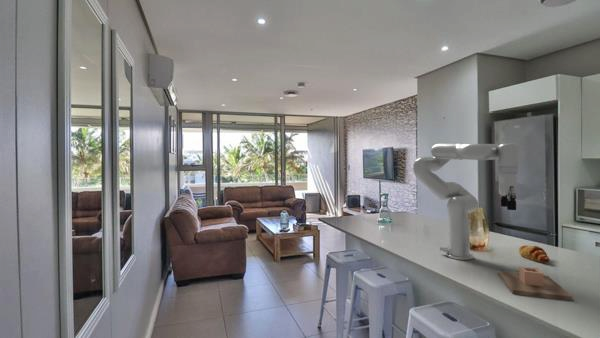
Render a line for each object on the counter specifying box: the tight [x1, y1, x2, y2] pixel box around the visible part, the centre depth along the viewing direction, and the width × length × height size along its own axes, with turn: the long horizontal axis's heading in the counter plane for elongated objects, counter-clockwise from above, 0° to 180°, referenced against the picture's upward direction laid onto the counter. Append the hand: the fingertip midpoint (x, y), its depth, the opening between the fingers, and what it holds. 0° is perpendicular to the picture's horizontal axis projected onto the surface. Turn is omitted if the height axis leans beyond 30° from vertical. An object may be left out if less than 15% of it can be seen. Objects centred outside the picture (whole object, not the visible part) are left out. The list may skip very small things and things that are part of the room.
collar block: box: [518, 266, 544, 286], centre depth 118 cm, size 6×6×5 cm
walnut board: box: [497, 270, 574, 301], centre depth 118 cm, size 18×20×2 cm
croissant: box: [518, 245, 551, 264], centre depth 151 cm, size 21×10×8 cm, turn 174°
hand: (508, 208), depth 135 cm, fingers open, 9 cm apart
